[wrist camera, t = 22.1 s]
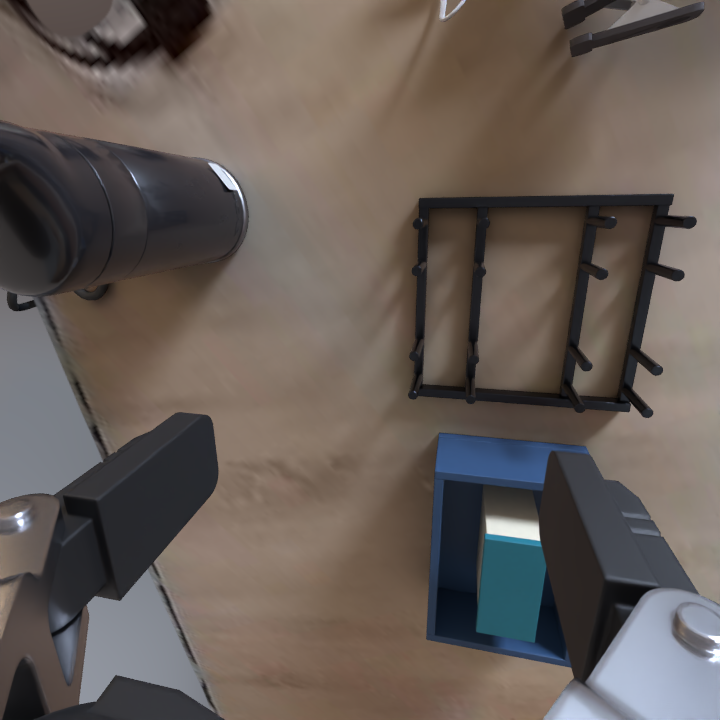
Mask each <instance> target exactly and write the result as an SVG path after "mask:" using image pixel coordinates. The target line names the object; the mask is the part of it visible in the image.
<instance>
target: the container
mask: <svg viewBox="0 0 720 720" xmlns="http://www.w3.org/2000/svg"><path fill="white" fill-rule="evenodd" d="M476 570H477V602H478V608H477V619H476V632H479V633H484V634H489V635H495V636H500V637H506V638H511V639H517V640H522V641H528V642H533V643H534V642H535V636H536V630H537V623H538V617H539V610H540V604H541V597H542V591H543V584H544V578H545V571H546V562H545V558H544V554H543V550H542V546H541V542H540V536H539V517H538V513H537V508H536V504H535V500H534V496H533V492H532V490H528V489H520V488H511V487H502V486H493V485H483V494H482V506H481V517H480V528H479V539H478V550H477V562H476Z"/></svg>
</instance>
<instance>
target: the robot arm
mask: <svg viewBox="0 0 720 720" xmlns="http://www.w3.org/2000/svg"><path fill="white" fill-rule="evenodd" d="M248 218H249V216H248V206H247V201H246V198H245V195H244V193H243V190H242V188H241V186H240V185H239V183H238V181H237V180H236V179H235V177H234V176H233V175H232V174H231V173H230V172H229V171H228V170H227V169H225V168H224V167H223V166H221V165H220V164H218V163H216V162H214V161H211V160H208V159H203V158H196V157H191V158H190V157H185V156H181V155H176V154H170V153H165V152H160V151H154V150H149V149H143V148H138V147H133V146H127V145H122V144H116V143H111V142H105V141H100V140H95V139H89V138H83V137H77V136H71V135H66V134H61V133H55V132H50V131H44V130H38V129H33V128H27V127H22V126H19V125H17V124H14V123H11V122H7V121H3V120H0V288H1V289H3V290H6V291H8V292H7V303H8V305H9V308H10V309H12V310H13V311H24V310H28V309H31V308H34V307H37V306H36V304H35V302H34V300H32V301H28V302H25V303H21V304H17V294H18V295H24V296H33V297H42V296H51V295H57V294H61V293H66V292H71V291H74V292H75V293H76V294H77V295H78V296H80V297H81V298H83V299H86V300H97V299H99V298H101V297H102V296H103V295H104V293H105V292H106V290H107V287H108V284H109V283H112V282H117V281H122V280H126V279H131V278H136V277H141V276H145V275H150V274H155V273H159V272H164V271H169V270H174V269H178V268H183V267H188V266H193V265H198V264H202V263H212V262H217V261H221V260H223V259H226V258H228V257H229V256H231V255H232V254H233V253H234V252H235V251H236V250H237V249H238V248H239V247H240V245H241V244H242V242H243V240H244V238H245V235H246V232H247V228H248ZM94 286H98V287H97V289H96V290H95V291H94V292H87V291H85V290H84V289H85V288H90V287H94ZM217 480H218V462H217V454H216V445H215V437H214V429H213V423H212V420H211V418H210V417H209V416H208V415H202V414H192V413H182V412H178V413H175V414H174V415H172V416H171V417H170V418H168V419H167V420H166V421H164V422H163V423H161V424H160V425H159V426H157V427H156V428H155V429H153V430H152V431H150V432H148V433H145V434H143V435H141V436H138V437H136V438H134V439H132V440H131V441H130V442H128V443H127V444H125V445H124V446H122V447H121V448H120V449H118V451H117V453H115V452H114V453H113V454H111V455H110V456H108V457H107V458H106V459H104V462H103V463H101V462H100V463H99V464H97V465H96V466H94V467H93V468H91V469H90V470H89V471H87V472H86V473H84V474H83V475H82V476H80V477H79V478H78V479H76V480H75V481H73V482H72V483H71V484H69V485H68V486H66V487H65V488H63V489H62V490H60V491H59V492H58V493H56V494H55V495H49V494H29V495H23V496H19V497H15V498H12V499H9V500H6V501H3V502H1V503H0V720H224V719H223V718H221V717H220V716H218V715H217V714H215V713H214V712H212V711H211V710H209V709H208V708H206V707H204V706H203V705H201V704H200V703H198V702H197V701H195V700H194V699H192V698H191V697H189V696H187V695H186V694H184V693H183V692H181V691H180V690H177V689H172V688H168V687H164V686H160V685H155V684H151V683H147V682H143V681H138V680H134V679H130V678H126V677H122V676H117V675H116V676H115V677H114V678H113V680H112V681H111V682H110V684H109V685H108V687H107V688H106V689H105V691H104V692H103V693H102V695H101V696H100V697H99V699H98V700H97V702H90V703H85V704H80V705H79V696H80V689H81V681H82V673H83V672H82V671H83V664H84V656H85V648H86V640H87V631H88V623H89V613H88V609H87V604H88V602H89V601H90V600H91V599H92V598H93V597H94V596H98V597H103V598H108V599H113V600H119V601H120V600H121V599H122V598H123V597H124V596H125V594H126V593H127V592H128V591H129V590H130V588H131V587H132V586H133V585H134V584H135V583H136V582H137V580H138V579H139V578H140V577H141V576H142V575H143V573H144V572H145V571H146V570H147V569H148V568H149V567H150V565H151V564H152V563H153V562H154V561H155V560H156V558H157V557H158V556H159V555H160V554H161V553H162V551H163V550H164V549H165V548H166V547H167V546H168V544H169V543H170V542H171V541H172V540H173V539H174V538H175V536H176V535H177V534H178V533H179V532H180V531H181V529H182V528H183V527H184V526H185V525H186V524H187V522H188V521H189V520H190V519H191V518H192V517H193V515H194V514H195V513H196V512H197V511H198V510H199V508H200V507H201V506H202V505H203V504H204V503H205V502H206V500H207V499H208V498H209V497H210V496H211V494H212V493H213V491H214V489H215V487H216V484H217ZM539 536H540V542H541V546H542V550H543V554H544V558H545V562H546V566H547V570H548V574H549V578H550V582H551V587H552V591H553V595H554V599H555V603H556V607H557V611H558V615H559V619H560V623H561V627H562V631H563V635H564V639H565V643H566V647H567V651H568V655H569V659H570V663H571V667H572V671H573V675H574V679H573V680H572V681H571V682H570V683H569V684H568V685H567V686H566V687H565V689H564V690H563V691H562V693H561V694H560V696H559V697H558V699H557V700H556V701H555V703H554V704H553V706H552V707H551V709H550V710H549V712H548V713H547V714H546V716H545V717H544V719H543V720H720V605H719V604H717V603H716V602H714V601H712V600H710V599H707V598H705V597H703V596H701V595H699V593H698V592H697V590H696V589H695V587H694V585H693V584H692V582H691V581H690V579H689V577H688V576H687V574H686V573H685V571H684V569H683V568H682V566H681V565H680V563H679V561H678V560H677V558H676V557H675V555H674V553H673V552H672V550H671V549H670V547H669V545H668V544H667V542H666V541H665V539H664V537H661V535H660V531H659V529H658V528H657V526H656V525H655V523H654V521H653V520H651V519H650V515H649V513H648V512H647V510H646V509H645V507H644V505H643V504H642V502H641V501H640V499H639V498H638V497H637V496H636V495H635V494H633V493H632V492H631V491H630V490H628V489H627V488H626V487H625V486H623V485H622V484H621V483H620V482H618V481H613V480H604V479H603V477H602V475H601V473H600V471H599V469H598V467H597V466H596V464H595V462H594V460H593V458H592V457H591V455H589V454H582V453H572V452H562V451H551V452H550V454H549V457H548V461H547V467H546V474H545V480H544V486H543V493H542V499H541V505H540V512H539Z"/></svg>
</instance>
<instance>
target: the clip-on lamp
mask: <svg viewBox="0 0 720 720" xmlns="http://www.w3.org/2000/svg"><path fill="white" fill-rule="evenodd" d="M465 2H466V0H462V1H461V2H460V3H459V4H458V6H457V7H456V8H455V9H454V10H453V11H452V12H451V13H450V14H449V15H447V16H446V17H445V11H446V5H447V0H440V14H439V19H440V22H445V21H447V20H449V19H450V18H451V17H452V16H453V15H454V14H455V13H457V11H458V10H459V9H460V8H461V7H462V5H463V4H464V3H465ZM602 8H610V9H618V10H627V12H626V13H625V14H624V15H622V16H621V17H620V18H619V19H618V20H617V21H616V22H615V23H614V24H613V25H612V26H611V27H610V28H609V29H607V30H605V31H602V32H599V33H595V34H592V33H587V34H584V35H581V36H579V37H576V38H573V39H571V40H570V49H571V54H572V57H576V56H579V55H582V54H585V53H588V52H590V51H592V49H593V48H597V47H600V46H604V45H607V44H611V43H614V42H618V41H621V40H625V39H628V38H632V37H635V36H639V35H642V34H645V33H649V32H652V31H656V30H659V29H663V28H666V27H670V26H673V25H677V24H680V23H684V22H687V21H690V20H692V19H694V18H697V17H698V16H700V15H701V13H702V12H703V11H704V2H699V3H695V4H692V5H689V6H685V7H682V8H678V7H676V6H673V5H671V4H668V3H666V2H663V1H661V0H585V1H584V0H577V1H575V2H573V3H571V4H569V5H567V6H565V7H564V8H562V16H563V21H564V25H565V29H568V28H570V27H573V26H575V25H577V24H579V23H581V22H583V21H584V20H585V17H587V16H589V15H591V14H593V13H595V12H597V11H598V10H600V9H602Z"/></svg>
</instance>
